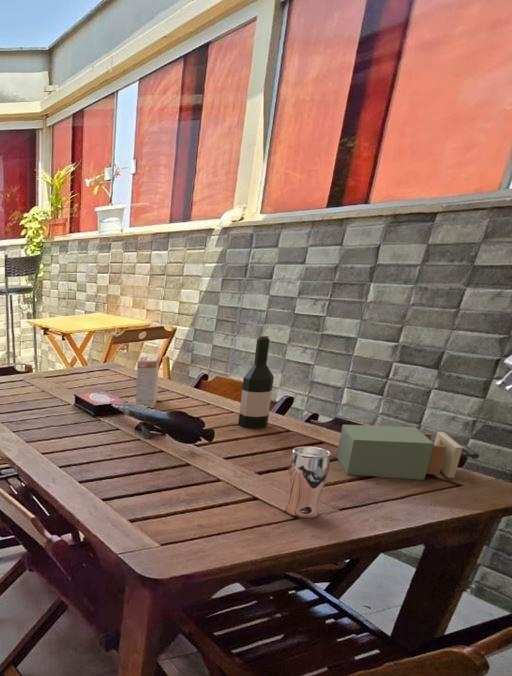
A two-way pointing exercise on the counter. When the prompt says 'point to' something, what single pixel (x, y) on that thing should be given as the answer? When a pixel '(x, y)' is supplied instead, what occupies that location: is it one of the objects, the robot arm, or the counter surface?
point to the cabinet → (384, 451)
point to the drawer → (447, 455)
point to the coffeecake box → (147, 379)
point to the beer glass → (306, 480)
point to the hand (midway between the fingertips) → (503, 389)
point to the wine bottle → (257, 389)
